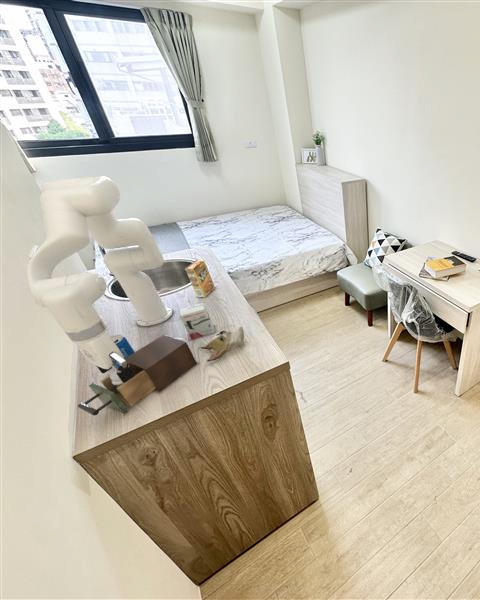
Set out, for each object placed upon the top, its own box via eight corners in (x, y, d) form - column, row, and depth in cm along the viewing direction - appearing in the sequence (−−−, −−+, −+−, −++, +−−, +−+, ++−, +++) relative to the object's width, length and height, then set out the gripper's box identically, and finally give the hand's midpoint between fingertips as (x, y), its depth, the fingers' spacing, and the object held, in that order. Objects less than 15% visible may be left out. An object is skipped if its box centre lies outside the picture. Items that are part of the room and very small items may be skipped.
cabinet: (160, 392, 101) (145, 369, 95) (137, 382, 105) (122, 359, 99) (197, 363, 111) (186, 342, 106) (175, 355, 115) (163, 334, 109)
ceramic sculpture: (245, 329, 113) (200, 350, 105) (253, 347, 118) (210, 368, 110) (236, 316, 120) (193, 335, 112) (244, 334, 125) (203, 352, 117)
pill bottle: (123, 389, 99) (109, 370, 95) (141, 384, 101) (128, 365, 97) (120, 400, 96) (106, 381, 91) (139, 394, 98) (125, 375, 93)
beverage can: (124, 375, 107) (105, 349, 100) (114, 369, 110) (96, 342, 103) (144, 363, 112) (128, 337, 105) (135, 357, 114) (118, 331, 108)
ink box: (191, 340, 122) (179, 315, 116) (190, 333, 126) (178, 309, 119) (215, 332, 126) (205, 308, 120) (213, 326, 130) (203, 302, 123)
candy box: (205, 297, 148) (193, 268, 139) (196, 297, 148) (184, 268, 140) (215, 287, 155) (204, 259, 147) (207, 287, 155) (195, 259, 147)
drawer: (106, 428, 89) (89, 409, 85) (85, 417, 92) (68, 398, 88) (164, 384, 103) (153, 365, 98) (144, 375, 106) (132, 357, 101)
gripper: (51, 330, 84) (86, 375, 94) (90, 346, 79) (124, 392, 88) (83, 314, 90) (113, 358, 100) (122, 328, 85) (150, 373, 94)
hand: (118, 374), depth 94 cm, fingers open, 9 cm apart
